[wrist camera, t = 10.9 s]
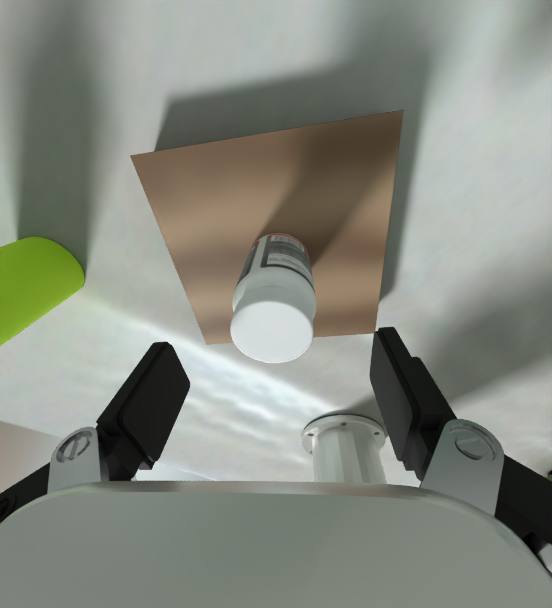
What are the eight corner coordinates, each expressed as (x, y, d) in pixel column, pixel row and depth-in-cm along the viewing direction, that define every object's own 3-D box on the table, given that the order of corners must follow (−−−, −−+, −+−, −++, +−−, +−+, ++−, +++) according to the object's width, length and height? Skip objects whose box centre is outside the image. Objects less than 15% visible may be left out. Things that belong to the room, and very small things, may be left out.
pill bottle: (266, 297, 20) (253, 379, 13) (236, 249, 18) (201, 317, 11) (319, 275, 19) (335, 354, 12) (293, 219, 16) (295, 277, 10)
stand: (366, 313, 24) (374, 333, 22) (214, 325, 26) (206, 344, 24) (385, 114, 15) (403, 109, 13) (153, 153, 17) (130, 155, 15)
